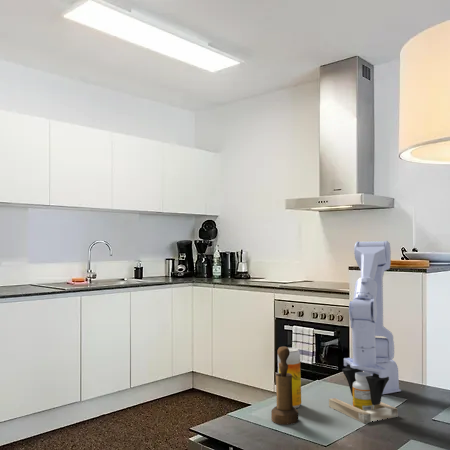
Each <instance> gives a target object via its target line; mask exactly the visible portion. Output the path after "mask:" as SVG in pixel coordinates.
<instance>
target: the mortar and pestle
mask: <svg viewBox="0 0 450 450" xmlns="http://www.w3.org/2000/svg"><path fill="white" fill-rule="evenodd" d="M288 348H289V347H288V346H285V345H283V346H279V347H278V349H277V357H278V356H279V358H280V360H281V363H280V364H279V368H280V372H281V373H278V372H277V373H276V374H275V386H276V388H275V389H276V406H274V407H273V408H272V409H271V422H273V423H275V424H278V425H284V426H287V425H294V424H297V423H298V422H299V410H298V409H297V408H295V407H293V404H292V374H290V373H287V370H288V364H287V363H286V361H287V358H288V356H289V354H290V352H289V349H288Z"/></svg>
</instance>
